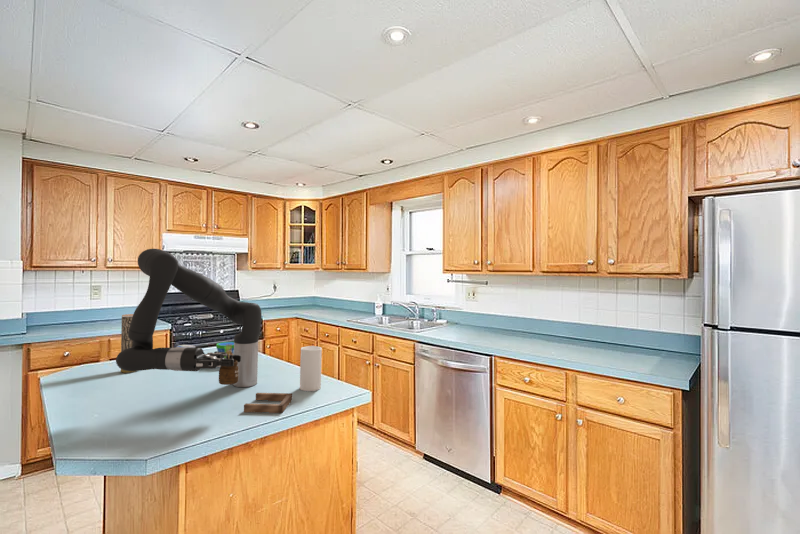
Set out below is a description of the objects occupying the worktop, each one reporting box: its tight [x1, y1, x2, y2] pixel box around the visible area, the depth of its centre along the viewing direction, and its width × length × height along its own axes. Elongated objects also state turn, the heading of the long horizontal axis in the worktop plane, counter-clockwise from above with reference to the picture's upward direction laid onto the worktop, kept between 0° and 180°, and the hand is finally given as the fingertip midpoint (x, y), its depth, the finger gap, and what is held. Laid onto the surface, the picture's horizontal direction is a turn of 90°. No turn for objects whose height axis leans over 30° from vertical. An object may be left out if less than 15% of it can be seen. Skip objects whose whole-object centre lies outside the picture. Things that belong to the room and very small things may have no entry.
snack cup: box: [215, 341, 234, 357], centre depth 196 cm, size 16×10×10 cm
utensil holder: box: [218, 344, 239, 386], centre depth 133 cm, size 6×6×12 cm
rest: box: [243, 392, 293, 414], centre depth 141 cm, size 13×13×2 cm
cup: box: [299, 345, 323, 392], centre depth 163 cm, size 8×8×16 cm
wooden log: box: [120, 313, 137, 374], centre depth 180 cm, size 7×7×25 cm
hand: (237, 360), depth 133 cm, fingers closed on utensil holder, 5 cm apart
